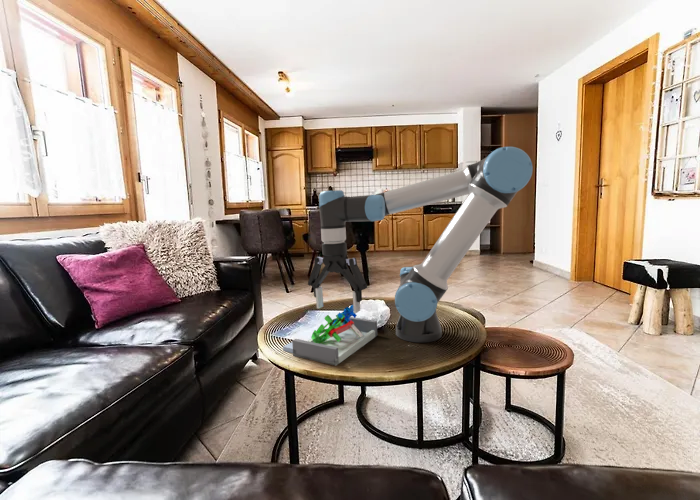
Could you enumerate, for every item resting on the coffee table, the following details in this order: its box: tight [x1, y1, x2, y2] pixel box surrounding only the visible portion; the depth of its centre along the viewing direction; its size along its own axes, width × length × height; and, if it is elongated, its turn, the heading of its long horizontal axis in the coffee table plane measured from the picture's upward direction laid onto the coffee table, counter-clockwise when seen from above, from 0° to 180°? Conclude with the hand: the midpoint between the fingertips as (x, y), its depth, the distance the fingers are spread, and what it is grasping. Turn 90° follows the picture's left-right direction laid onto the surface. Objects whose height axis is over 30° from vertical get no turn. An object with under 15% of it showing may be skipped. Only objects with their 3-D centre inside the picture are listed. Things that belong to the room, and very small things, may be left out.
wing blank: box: [282, 338, 306, 354], centre depth 112 cm, size 7×4×2 cm, turn 146°
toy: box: [310, 304, 364, 344], centre depth 113 cm, size 20×10×11 cm
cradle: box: [291, 316, 378, 367], centre depth 114 cm, size 15×26×5 cm, turn 150°
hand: (338, 309), depth 112 cm, fingers open, 13 cm apart
